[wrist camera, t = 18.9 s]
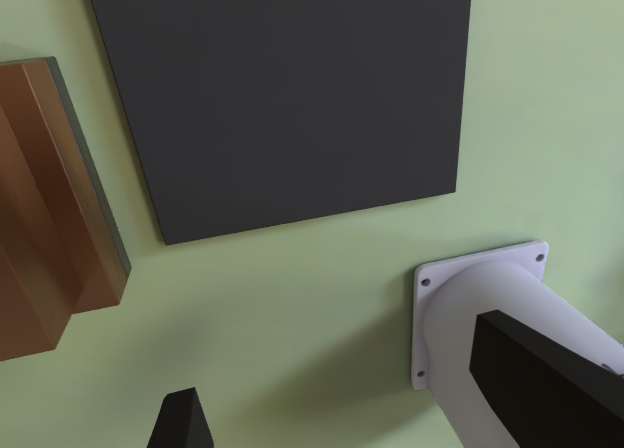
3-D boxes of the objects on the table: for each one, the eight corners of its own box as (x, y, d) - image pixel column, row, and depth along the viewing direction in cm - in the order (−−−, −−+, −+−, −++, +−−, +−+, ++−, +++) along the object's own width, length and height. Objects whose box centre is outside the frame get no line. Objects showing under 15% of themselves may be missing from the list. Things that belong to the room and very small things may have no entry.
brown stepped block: (132, 267, 18) (100, 365, 13) (26, 287, 18) (-53, 399, 12) (55, 55, 14) (-37, 75, 9) (-88, 71, 14) (-278, 103, 8)
